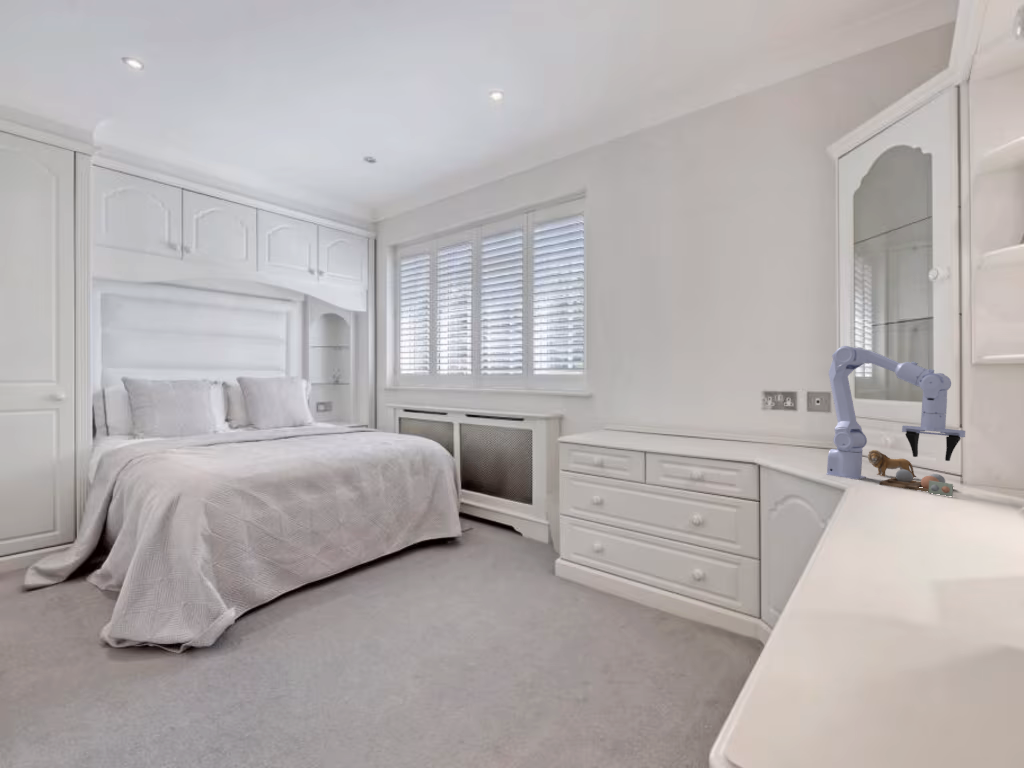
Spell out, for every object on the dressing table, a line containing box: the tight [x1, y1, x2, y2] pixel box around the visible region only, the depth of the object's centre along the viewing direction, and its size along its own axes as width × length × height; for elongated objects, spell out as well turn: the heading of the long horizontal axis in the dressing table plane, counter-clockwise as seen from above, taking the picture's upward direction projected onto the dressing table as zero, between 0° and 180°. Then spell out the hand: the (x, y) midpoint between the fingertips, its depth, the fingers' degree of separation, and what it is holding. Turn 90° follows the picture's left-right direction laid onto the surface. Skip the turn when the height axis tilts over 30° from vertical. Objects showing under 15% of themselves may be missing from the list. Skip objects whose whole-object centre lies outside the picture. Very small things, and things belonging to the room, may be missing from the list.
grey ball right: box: [928, 473, 946, 483], centre depth 157 cm, size 4×4×4 cm
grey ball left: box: [895, 469, 914, 483], centre depth 164 cm, size 4×4×4 cm
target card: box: [928, 481, 954, 497], centre depth 146 cm, size 5×1×4 cm, turn 39°
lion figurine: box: [867, 449, 917, 479], centre depth 176 cm, size 15×5×9 cm, turn 73°
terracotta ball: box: [920, 475, 939, 489], centre depth 153 cm, size 4×4×4 cm
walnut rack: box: [879, 477, 929, 493], centre depth 158 cm, size 15×15×1 cm
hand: (931, 458), depth 153 cm, fingers open, 7 cm apart
